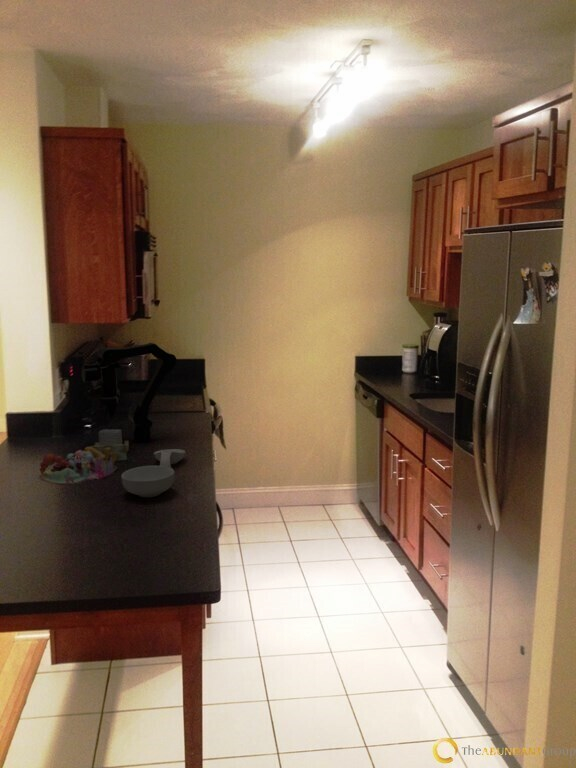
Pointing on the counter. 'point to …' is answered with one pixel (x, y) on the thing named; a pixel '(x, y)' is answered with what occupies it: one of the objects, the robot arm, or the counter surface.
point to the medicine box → (110, 437)
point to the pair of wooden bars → (115, 449)
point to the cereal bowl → (148, 480)
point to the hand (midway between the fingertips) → (111, 417)
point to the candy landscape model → (79, 466)
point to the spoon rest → (169, 456)
